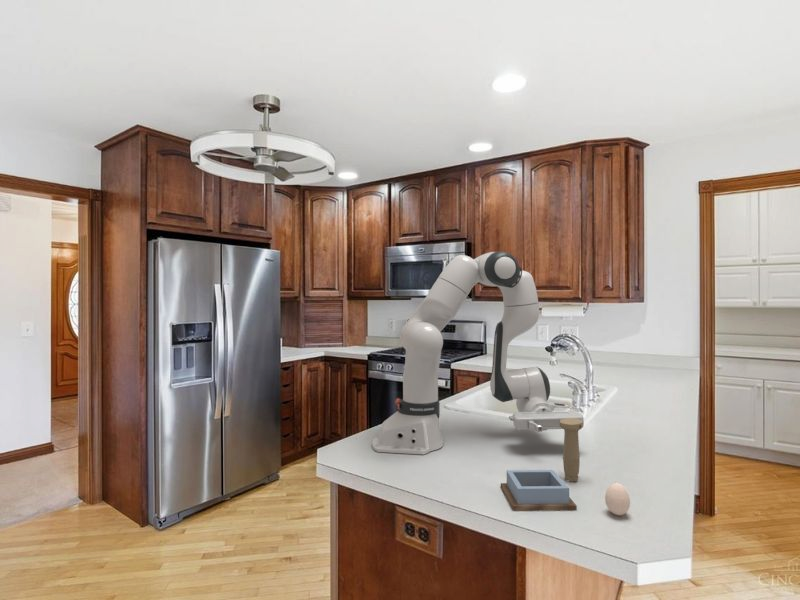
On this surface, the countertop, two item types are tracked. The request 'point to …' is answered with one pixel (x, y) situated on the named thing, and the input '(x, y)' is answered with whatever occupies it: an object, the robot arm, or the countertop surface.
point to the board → (534, 506)
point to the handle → (571, 448)
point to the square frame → (537, 487)
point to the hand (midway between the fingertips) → (556, 428)
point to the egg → (617, 499)
